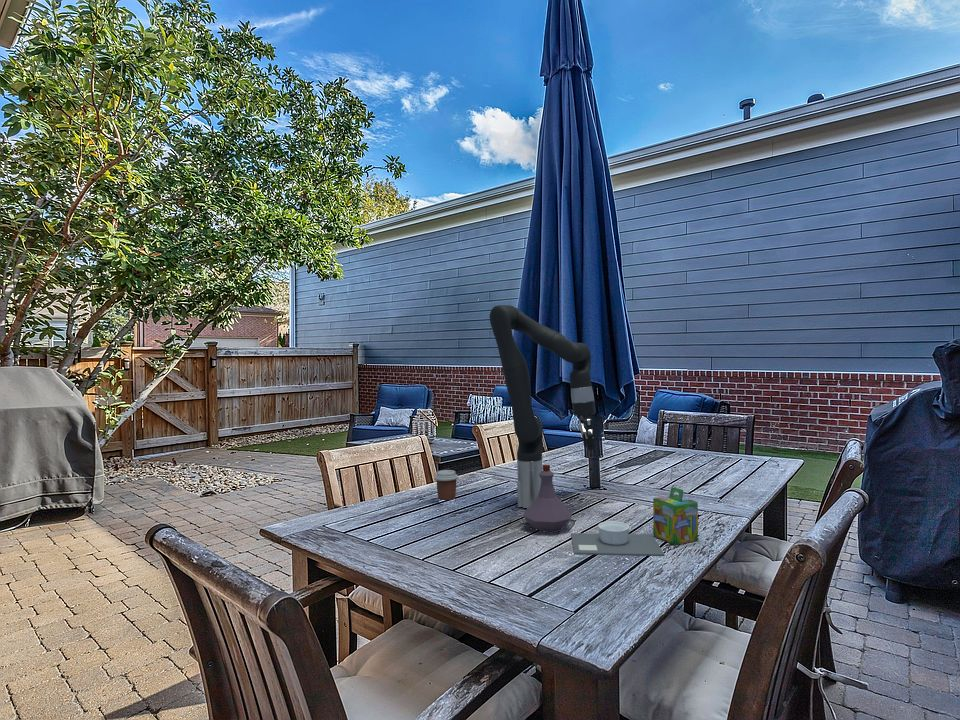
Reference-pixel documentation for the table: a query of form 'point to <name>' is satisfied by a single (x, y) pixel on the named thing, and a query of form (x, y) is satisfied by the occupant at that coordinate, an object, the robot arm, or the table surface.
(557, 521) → the flask
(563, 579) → the table surface
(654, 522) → the chalk box
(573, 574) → the table surface
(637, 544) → the label placard
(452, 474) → the coffee cup
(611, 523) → the ramekin
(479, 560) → the table surface
